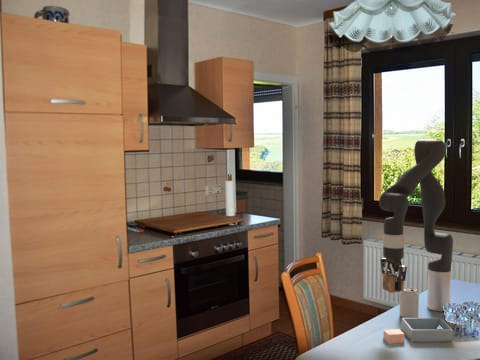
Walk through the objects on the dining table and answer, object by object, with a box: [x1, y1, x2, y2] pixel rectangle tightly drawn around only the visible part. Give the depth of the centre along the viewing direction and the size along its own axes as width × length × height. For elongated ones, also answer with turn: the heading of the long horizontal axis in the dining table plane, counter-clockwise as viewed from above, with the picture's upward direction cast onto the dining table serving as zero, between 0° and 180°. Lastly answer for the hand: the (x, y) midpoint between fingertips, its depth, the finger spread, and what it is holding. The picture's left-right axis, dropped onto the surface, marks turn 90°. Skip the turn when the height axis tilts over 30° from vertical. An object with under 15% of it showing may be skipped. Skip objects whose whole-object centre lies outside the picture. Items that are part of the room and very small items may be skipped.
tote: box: [401, 317, 454, 343], centre depth 182 cm, size 12×15×4 cm
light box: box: [383, 328, 405, 345], centre depth 178 cm, size 4×6×4 cm
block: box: [382, 272, 405, 294], centre depth 185 cm, size 6×6×6 cm
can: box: [399, 286, 420, 318], centre depth 201 cm, size 8×8×12 cm
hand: (393, 288), depth 185 cm, fingers closed on block, 5 cm apart
